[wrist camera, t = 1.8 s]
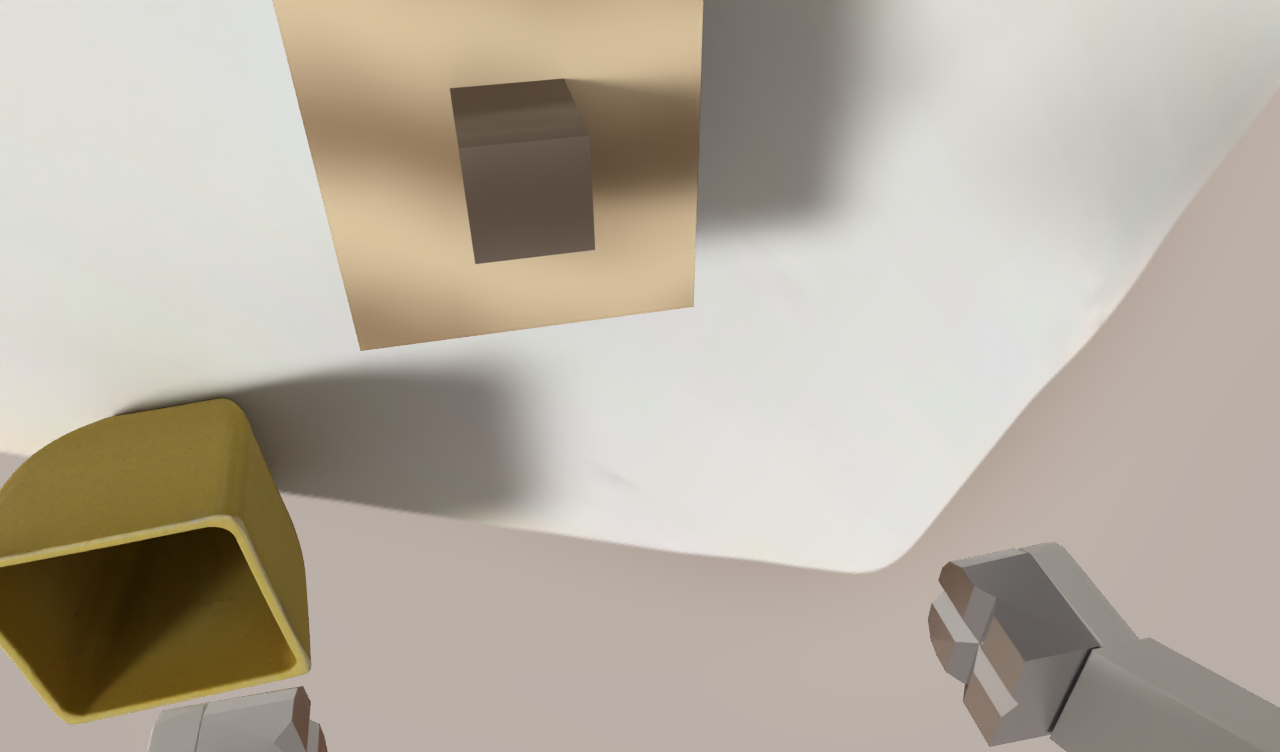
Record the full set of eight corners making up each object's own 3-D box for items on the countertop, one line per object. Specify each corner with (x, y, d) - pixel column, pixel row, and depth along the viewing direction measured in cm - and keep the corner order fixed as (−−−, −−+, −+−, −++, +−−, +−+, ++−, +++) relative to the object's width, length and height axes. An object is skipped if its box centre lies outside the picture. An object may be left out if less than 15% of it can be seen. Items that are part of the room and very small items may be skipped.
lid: (255, -128, 21) (215, -79, 16) (683, -147, 23) (761, -108, 18) (362, 312, 29) (356, 434, 24) (676, 272, 30) (730, 379, 26)
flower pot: (328, 506, 40) (315, 677, 33) (123, 545, 38) (64, 732, 31) (268, 349, 34) (236, 514, 27) (27, 388, 33) (-71, 571, 26)
